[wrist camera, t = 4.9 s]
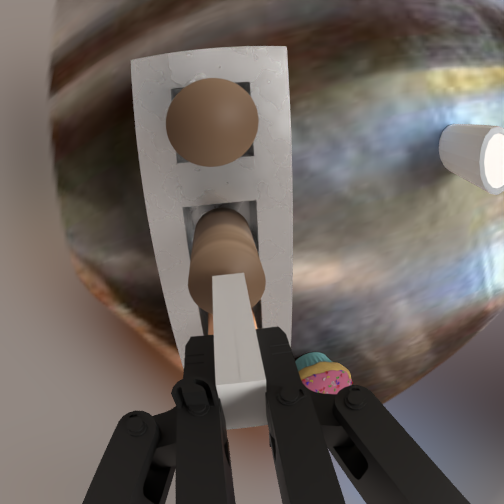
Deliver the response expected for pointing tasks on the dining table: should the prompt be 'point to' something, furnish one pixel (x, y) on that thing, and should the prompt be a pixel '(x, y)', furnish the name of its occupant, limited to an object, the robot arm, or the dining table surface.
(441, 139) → the white cup
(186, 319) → the jig
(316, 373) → the cupcake
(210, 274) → the plug mid
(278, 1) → the dining table surface
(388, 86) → the dining table surface
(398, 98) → the dining table surface
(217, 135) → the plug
